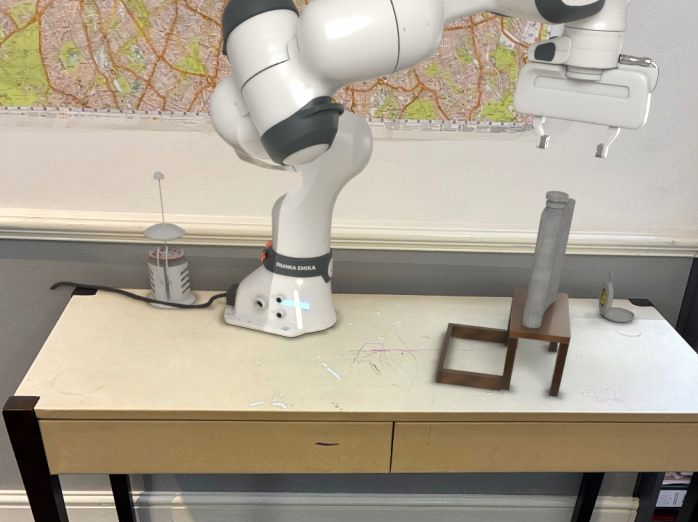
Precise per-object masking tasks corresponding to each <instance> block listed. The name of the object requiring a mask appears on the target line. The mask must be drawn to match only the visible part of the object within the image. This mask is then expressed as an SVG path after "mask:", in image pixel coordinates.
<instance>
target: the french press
mask: <svg viewBox="0 0 698 522" xmlns="http://www.w3.org/2000/svg"><path fill="white" fill-rule="evenodd" d="M153 179H154V180H157V181H158V186H159V187H158V188H159V197H160V205H161V206H160V207H161V215H162V222H159V223H155V224H152V225H150V226H148V227H147V228H146V229H145V230H144V231H143V235H144V237H145V238H146V239H148V240H150V241H157V242H164V244H165V246H159V245H158V246H157V247H154V248H152V249H150V251H148V256H149V257H148V259H147V266H148V273H149V280H150V281H149V282H150V283H149V284H150V291H151V294H150V295H149V296H148V298H150V299H154V300H158V301H163V302H170V303H179V304H186V305H193V304H194V302H195V301H196V300H197V299H196V295H194V294H193V292H191V287H189V286H190V285H191V284H190V283H191V282H190V281H189V280H190V276H189V275H188V274H190V273H189V271H190V270H189V269H186V268H188V267H189V262H188V258H187V257H186V256H185V255H186V251H185V250H184V249H182V248H179V247H177V246H168V245H167V244H168V243H167V242H171V241H174V240H175V241H176V240H178V239H181V238H183V237H184V236H185V234H186V230H185V229H183V228H182V227H181V226H178V225H176V224H174V223H169V222H165V215H164V205H163V198H162V187H161V180H164V179H165V175H164V173H163V172H161V171H155V172H154V173H153ZM148 304H150V305H151V306H153V307H156V308H161V309H181V308H180V307H172V306H167V305H162V304H156V303H151V302H148Z"/></svg>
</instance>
